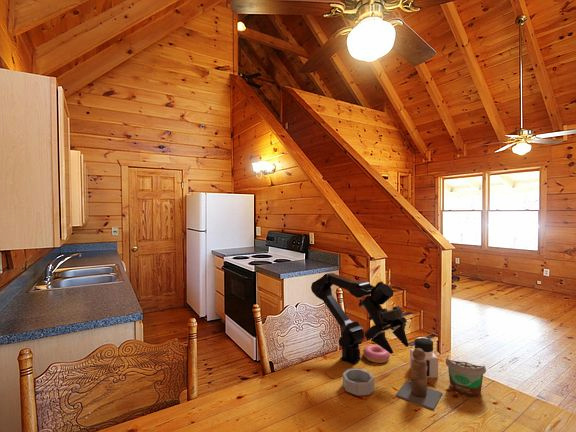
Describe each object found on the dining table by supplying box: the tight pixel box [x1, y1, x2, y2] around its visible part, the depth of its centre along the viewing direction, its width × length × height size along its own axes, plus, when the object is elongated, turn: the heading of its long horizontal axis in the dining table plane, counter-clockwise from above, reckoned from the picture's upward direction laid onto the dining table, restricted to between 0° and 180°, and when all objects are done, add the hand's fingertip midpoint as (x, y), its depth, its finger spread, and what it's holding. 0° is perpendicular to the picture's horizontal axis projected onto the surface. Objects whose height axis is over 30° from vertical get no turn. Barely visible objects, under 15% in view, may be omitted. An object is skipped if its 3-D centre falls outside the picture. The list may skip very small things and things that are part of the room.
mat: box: [395, 380, 443, 411], centre depth 106 cm, size 12×11×1 cm
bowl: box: [342, 368, 375, 396], centre depth 110 cm, size 10×10×4 cm
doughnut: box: [362, 344, 391, 364], centre depth 132 cm, size 11×11×4 cm
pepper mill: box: [410, 348, 428, 397], centre depth 106 cm, size 5×5×15 cm
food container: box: [445, 356, 487, 398], centre depth 106 cm, size 12×6×10 cm, turn 62°
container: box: [409, 336, 439, 379], centre depth 120 cm, size 8×8×13 cm
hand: (400, 349), depth 111 cm, fingers open, 9 cm apart
